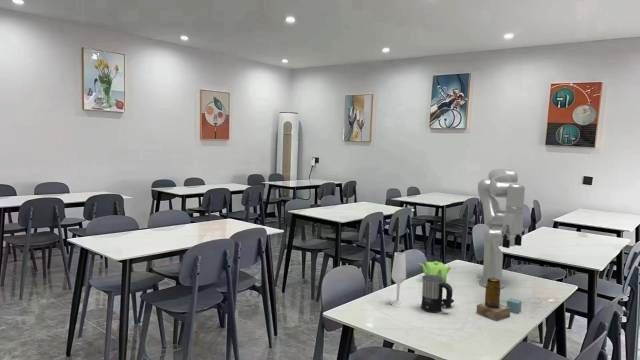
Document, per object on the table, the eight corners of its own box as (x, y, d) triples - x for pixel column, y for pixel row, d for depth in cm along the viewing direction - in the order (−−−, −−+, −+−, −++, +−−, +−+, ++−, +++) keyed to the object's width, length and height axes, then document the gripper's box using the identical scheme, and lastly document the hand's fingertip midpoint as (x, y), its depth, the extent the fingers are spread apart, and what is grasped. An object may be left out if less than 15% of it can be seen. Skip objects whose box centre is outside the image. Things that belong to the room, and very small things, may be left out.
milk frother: (419, 310, 199) (420, 278, 198) (423, 299, 214) (425, 269, 213) (451, 316, 194) (454, 283, 193) (454, 304, 209) (456, 273, 208)
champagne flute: (387, 303, 207) (389, 253, 205) (395, 300, 212) (397, 251, 210) (399, 307, 202) (402, 256, 200) (407, 304, 207) (410, 253, 205)
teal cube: (506, 311, 203) (507, 300, 202) (509, 308, 206) (510, 297, 206) (517, 314, 199) (518, 303, 199) (520, 311, 203) (521, 300, 203)
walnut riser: (476, 313, 198) (477, 304, 198) (489, 309, 204) (490, 300, 204) (496, 321, 190) (497, 312, 190) (509, 316, 196) (510, 307, 196)
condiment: (491, 302, 202) (493, 276, 201) (506, 308, 195) (508, 281, 194) (479, 304, 199) (481, 278, 198) (494, 310, 191) (496, 283, 190)
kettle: (440, 287, 233) (441, 267, 232) (416, 281, 243) (417, 261, 242) (453, 282, 244) (454, 262, 243) (430, 276, 253) (431, 257, 253)
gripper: (517, 208, 215) (514, 243, 216) (496, 210, 205) (493, 246, 206) (532, 210, 209) (529, 246, 210) (511, 212, 199) (508, 250, 200)
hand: (511, 246), depth 208 cm, fingers open, 9 cm apart
